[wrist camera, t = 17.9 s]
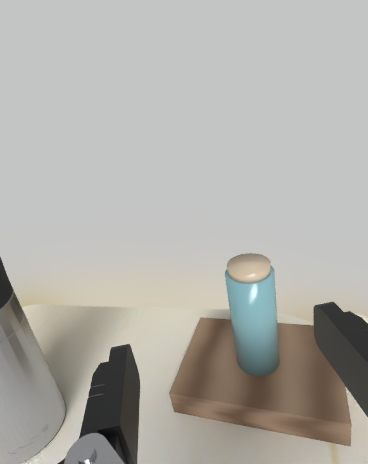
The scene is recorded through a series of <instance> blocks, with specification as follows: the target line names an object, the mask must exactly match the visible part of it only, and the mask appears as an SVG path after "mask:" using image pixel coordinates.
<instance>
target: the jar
mask: <svg viewBox="0 0 368 464" xmlns="http://www.w3.org/2000/svg"><path fill="white" fill-rule="evenodd" d="M225 277H226V285H227V292H228V299H229V306H230V314H231V321H232V328H233V335H234V343H235V350H236V357H237V363H238V365H239V367H240V368H241V369H242V370H243V371H245V372H246V373H248V374H251V375H254V376H265V375H268V374H271V373H273V372H274V371H275V370H276V369H277V368H278V366H279V364H280V354H279V339H278V323H277V309H276V293H275V279H274V269H273V267H272V266H271V264H270V260H269V259H268V258H267V257H265V256H263V255H260V254H251V253H250V254H242V255H238V256H236V257H233V258H232V259H230V260H229V261H228V263H227V270H226V272H225Z"/></svg>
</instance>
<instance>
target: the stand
mask: <svg viewBox="0 0 368 464" xmlns="http://www.w3.org/2000/svg"><path fill="white" fill-rule="evenodd" d="M278 339H279V354H280V364H279V366H278V368H277V369H276V370H275V371H274V372H273V373H271V374H268V375H265V376H254V375H251V374H248V373H246V372H245V371H243V370H242V369H241V368H240V367H239V365H238V363H237V357H236V350H235V343H234V335H233V328H232V321H231V320H227V319H213V318H200V320H199V323H198V325H197V328H196V330H195V332H194V335H193V337H192V340H191V342H190V344H189V347H188V349H187V352H186V354H185V357H184V359H183V361H182V364H181V366H180V369H179V371H178V373H177V376H176V378H175V381H174V383H173V386H172V388H171V390H170V393H169V394H170V397H171V401H172V405H173V409H174V412H178V413H183V414H188V415H193V416H199V417H204V418H209V419H214V420H219V421H224V422H229V423H234V424H239V425H245V426H250V427H255V428H260V429H265V430H270V431H275V432H280V433H286V434H291V435H296V436H301V437H306V438H311V439H316V440H321V441H326V442H332V443H337V444H342V445H347V446H350V444H351V420H350V414H349V407H348V401H347V395H346V389H345V384H344V383H343V381H342V380H341V379H340V377H339V376H338V374H337V373H336V372H335V370H334V369H333V367H332V366H331V365H330V363H329V362H328V360H327V359H326V357H325V356H324V355H323V353H322V352H321V350H320V349H319V347H318V346H317V343H316V341H315V337H314V326H311V325H297V324H283V323H278Z"/></svg>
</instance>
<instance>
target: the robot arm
mask: <svg viewBox="0 0 368 464" xmlns="http://www.w3.org/2000/svg"><path fill="white" fill-rule="evenodd" d="M314 337H315V341H316V343H317V346H318V347H319V349H320V350H321V352H322V353H323V355H324V356H325V357H326V359H327V360H328V362H329V363H330V365H331V366H332V367H333V369H334V370H335V372H336V373H337V374H338V376H339V377H340V379H341V380H342V381H343V383H344V384H345V386H346V387H347V389H348V390H349V391H350V393H351V394H352V396H353V397H354V398H355V400H356V401H357V403H358V404H359V405H360V407H361V408H362V410H363V411H364V413H365V414H366V415H367V417H368V324H367V323H366V322H365V321H364V320H363V319H362V318H361V317H359V316H357V315H355V314H353V313H352V312H350V311H349V312H343V311H342V310H341V309H340V308H339V307H338V306H337V305H336V304H335V303H334V302H329V303H324V304H320V305H315V306H314ZM139 398H140V379H139V372H138V369H137V365H136V362H135V359H134V356H133V353H132V349H131V346H130V345H129V344H126V345H122V346H117V347H112V348H111V350H110V356H109V362H104V363H100V364H99V366H98V368H97V369H96V371H95V372H94V374H93V377H92V382H91V388H90V391H89V398H88V400H87V405H86V409H85V414H84V419H83V423H82V428H81V432H80V437H79V440H77V441H76V442H75V443H74V444H73V445H72V447H71V448H70V449H69V451H68V453H67V455H66V458H65V459H64V460H62V461H61V462H60V463H58V464H137V451H138V425H139ZM65 412H66V406H65V402H64V400H63V397H62V395H61V393H60V391H59V389H58V386H57V384H56V382H55V379H54V377H53V375H52V373H51V371H50V368H49V366H48V364H47V362H46V360H45V357H44V355H43V353H42V351H41V349H40V347H39V344H38V342H37V340H36V338H35V336H34V333H33V331H32V329H31V327H30V325H29V322H28V320H27V318H26V316H25V314H24V311H23V310H22V307H21V306H20V303H19V301H18V299H17V297H16V295H15V292H14V290H13V288H12V286H11V283H10V281H9V279H8V277H7V274H6V271H5V269H4V266H3V263H2V260H1V258H0V464H20V463H22V462H24V461H26V460H28V459H30V458H31V457H33V456H34V455H36V454H37V453H38V452H40V451H41V450H42V449H43V448H44V447H45V446H46V445H47V444H48V443H49V442H50V441H51V440H52V439H53V438H54V436H55V435H56V433H57V432H58V431H59V429H60V427H61V425H62V423H63V420H64V417H65Z"/></svg>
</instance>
